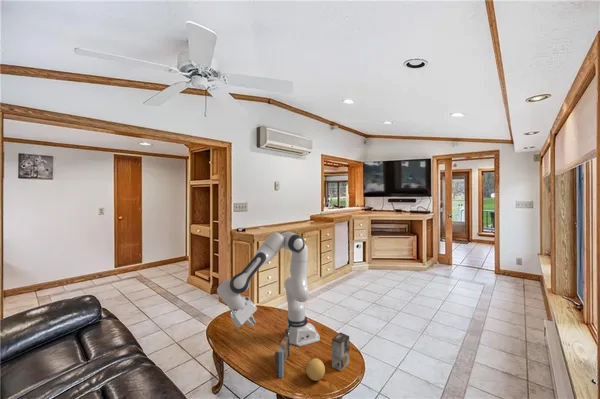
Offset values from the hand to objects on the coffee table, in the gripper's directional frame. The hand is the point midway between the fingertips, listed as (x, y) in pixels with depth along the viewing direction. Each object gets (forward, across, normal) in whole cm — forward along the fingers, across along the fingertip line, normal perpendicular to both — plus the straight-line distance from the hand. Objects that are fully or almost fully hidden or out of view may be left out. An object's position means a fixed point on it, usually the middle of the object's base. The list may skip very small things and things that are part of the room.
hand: (254, 324), depth 153 cm
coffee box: (+50, +13, -17) cm, 54 cm away
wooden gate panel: (+27, +3, +5) cm, 27 cm away
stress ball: (+42, -1, -9) cm, 43 cm away
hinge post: (+27, +13, +6) cm, 31 cm away
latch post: (+29, -5, +4) cm, 30 cm away
